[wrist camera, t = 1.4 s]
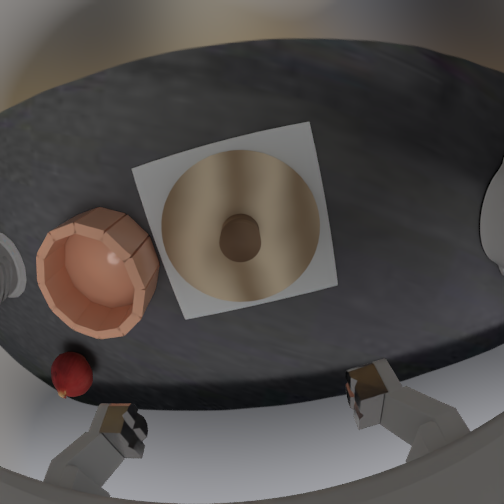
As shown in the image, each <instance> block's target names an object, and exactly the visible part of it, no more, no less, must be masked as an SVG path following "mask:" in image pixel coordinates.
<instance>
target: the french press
mask: <svg viewBox="0 0 504 504" xmlns="http://www.w3.org/2000/svg"><path fill="white" fill-rule="evenodd" d="M26 282H27V280H26V270H25V266H24V263H23V260H22V258H21V255H20V253H19V251H18V250H17V248H16V247H15V245H14V243H13V242H12V241H11V240H10V239H9V238H8V237H6V236H5V235H4V234H3V233H0V303H1V302H3V301H4V300H5V299H6V298H7V297H10V298H13V297H19V296H20V295H21V294H22V293H23V292H24V290H25V286H26Z"/></svg>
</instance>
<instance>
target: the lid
mask: <svg viewBox="0 0 504 504" xmlns="http://www.w3.org/2000/svg"><path fill="white" fill-rule="evenodd" d="M161 232H162V239H163V244H164V247H165V251H166V253H167V255H168V258H169V260H170V261H171V263H172V265H173V267H174V268H175V269H176V271H177V272H178V273H179V274H180V276H181V277H182V278H183V279H184V280H185V281H186V282H188V283H189V284H190V285H191V286H193V287H194V288H196V289H197V290H199V291H201V292H202V293H204V294H207V295H209V296H211V297H214V298H217V299H221V300H226V301H233V302H249V301H256V300H260V299H264V298H267V297H270V296H272V295H275V294H277V293H279V292H281V291H282V290H284V289H286V288H287V287H289V286H290V285H291V284H293V283H294V282H295V281H296V280H297V279H298V278H299V277H300V276H301V275H302V274H303V272H304V271H305V270H306V269H307V267H308V265H309V264H310V262H311V260H312V258H313V256H314V254H315V251H316V248H317V245H318V241H319V235H320V218H319V212H318V208H317V204H316V201H315V199H314V196H313V194H312V192H311V190H310V189H309V187H308V185H307V184H306V183H305V181H304V180H303V179H302V177H301V176H300V175H299V174H298V173H297V172H296V171H294V170H293V169H292V168H291V167H289V166H288V165H287V164H285V163H284V162H282V161H280V160H278V159H277V158H275V157H273V156H270V155H267V154H264V153H261V152H256V151H249V150H231V151H225V152H220V153H217V154H214V155H211V156H209V157H207V158H205V159H203V160H201V161H199V162H198V163H196V164H195V165H193V166H192V167H190V168H189V169H188V170H187V171H186V172H185V173H184V174H183V175H182V176H181V177H180V178H179V179H178V180H177V182H176V183H175V184H174V186H173V188H172V189H171V191H170V192H169V195H168V197H167V199H166V202H165V205H164V209H163V213H162V221H161Z"/></svg>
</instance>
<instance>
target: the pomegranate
mask: <svg viewBox="0 0 504 504" xmlns="http://www.w3.org/2000/svg"><path fill="white" fill-rule="evenodd" d="M51 375H52V381H53V384H54V386H55V388H56V389H57V391H58V393H59V396H61V398H66V396H70V397H75V396H79V395H82V394H84V393H85V392H87V390H88V389H89V387H90V386H91V384H92V381H93V374H92V369H91V367H90V365H89V363H88V362H87V360H86V359H85V357H84V356H83V355H81V354H78V353H75V352H66V353H63V354H60V355H59V356H58V357H57V358H56V359H55V361H54V362H53V364H52V368H51Z"/></svg>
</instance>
